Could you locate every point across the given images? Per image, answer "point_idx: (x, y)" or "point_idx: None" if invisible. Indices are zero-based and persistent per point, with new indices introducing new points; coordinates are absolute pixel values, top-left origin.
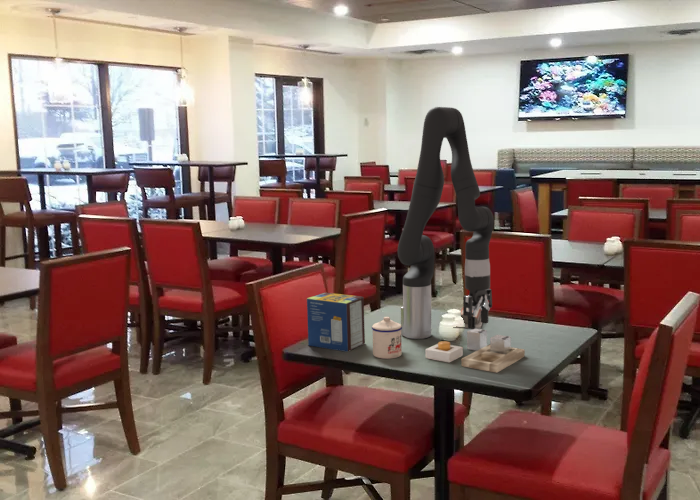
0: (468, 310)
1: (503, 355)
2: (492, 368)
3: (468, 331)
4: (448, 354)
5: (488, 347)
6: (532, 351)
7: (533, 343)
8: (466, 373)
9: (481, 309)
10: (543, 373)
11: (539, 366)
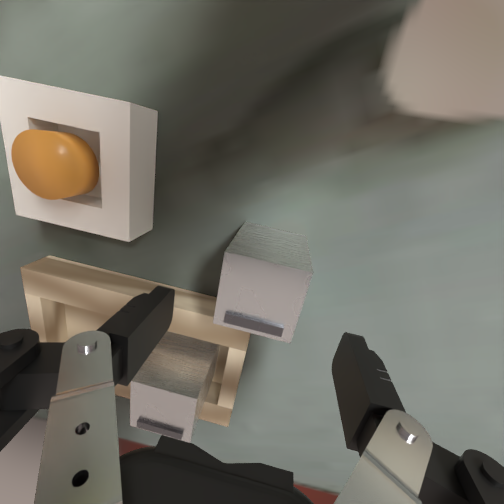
0: (61, 388)
1: None
2: None
3: (226, 258)
4: (20, 209)
5: (198, 327)
6: (311, 416)
7: (417, 417)
8: (13, 282)
9: (379, 421)
10: (129, 436)
11: None
